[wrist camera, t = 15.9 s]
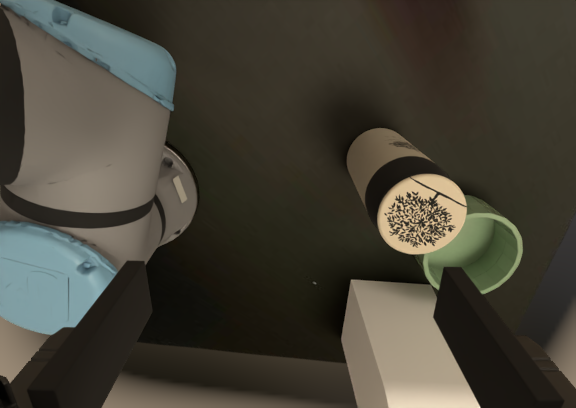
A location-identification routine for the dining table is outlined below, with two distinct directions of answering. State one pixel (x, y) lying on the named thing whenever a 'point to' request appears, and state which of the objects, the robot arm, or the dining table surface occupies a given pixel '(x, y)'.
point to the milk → (400, 349)
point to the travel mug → (405, 192)
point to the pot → (478, 249)
